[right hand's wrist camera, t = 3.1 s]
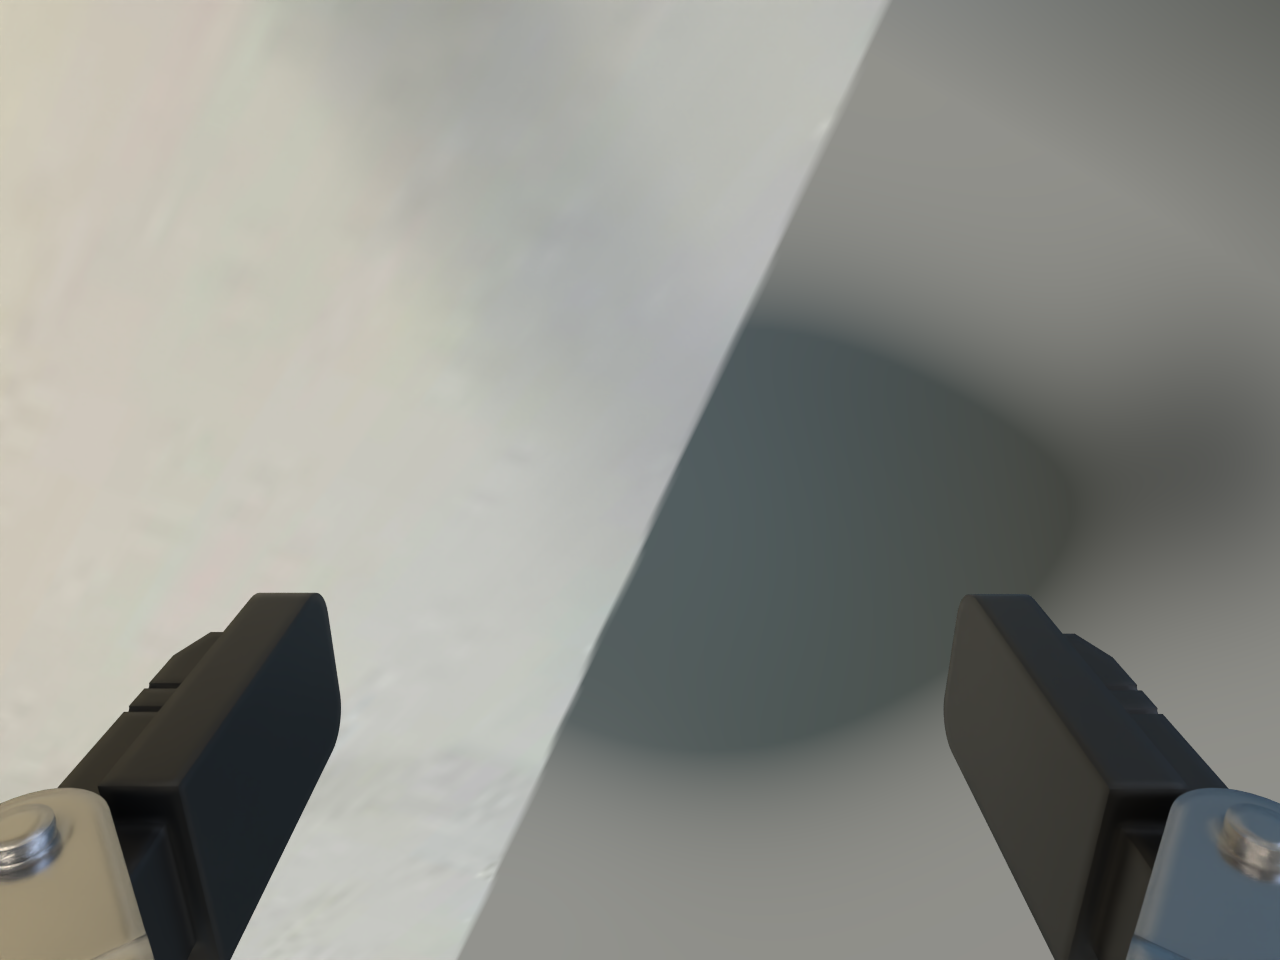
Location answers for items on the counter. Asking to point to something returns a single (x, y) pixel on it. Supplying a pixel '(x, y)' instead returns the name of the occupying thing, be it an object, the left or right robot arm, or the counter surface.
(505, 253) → the counter surface
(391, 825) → the counter surface
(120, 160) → the counter surface
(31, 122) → the counter surface
